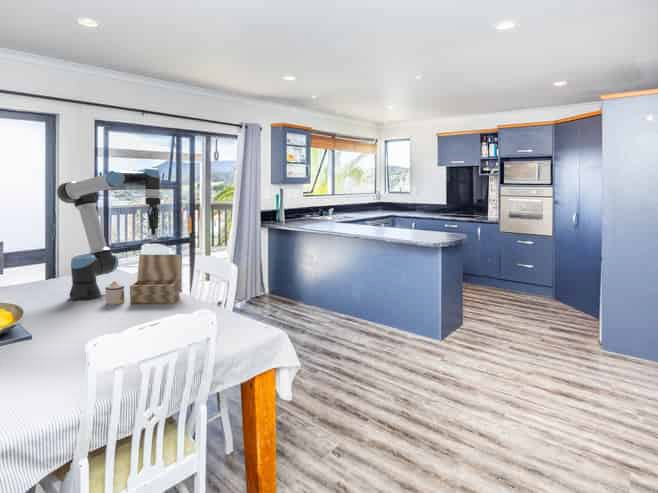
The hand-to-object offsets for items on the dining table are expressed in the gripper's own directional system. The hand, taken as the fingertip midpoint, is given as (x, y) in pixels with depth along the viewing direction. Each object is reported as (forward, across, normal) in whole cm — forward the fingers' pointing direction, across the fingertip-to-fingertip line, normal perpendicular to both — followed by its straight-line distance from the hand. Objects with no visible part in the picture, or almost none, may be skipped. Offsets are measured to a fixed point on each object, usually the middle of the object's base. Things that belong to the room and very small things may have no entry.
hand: (154, 240), depth 236 cm
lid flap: (+16, +3, -1) cm, 16 cm away
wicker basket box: (+32, -7, -2) cm, 33 cm away
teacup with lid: (+33, -9, +18) cm, 39 cm away
